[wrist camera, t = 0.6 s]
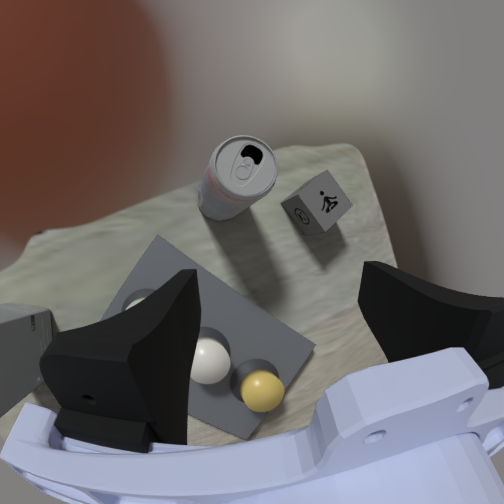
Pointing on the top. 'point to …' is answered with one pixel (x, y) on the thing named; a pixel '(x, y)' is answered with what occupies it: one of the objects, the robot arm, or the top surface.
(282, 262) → the top surface
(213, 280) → the grey flat block
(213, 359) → the ivory button
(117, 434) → the robot arm
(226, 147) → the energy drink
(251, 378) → the mustard button
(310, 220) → the dice cube
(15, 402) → the skincare box
